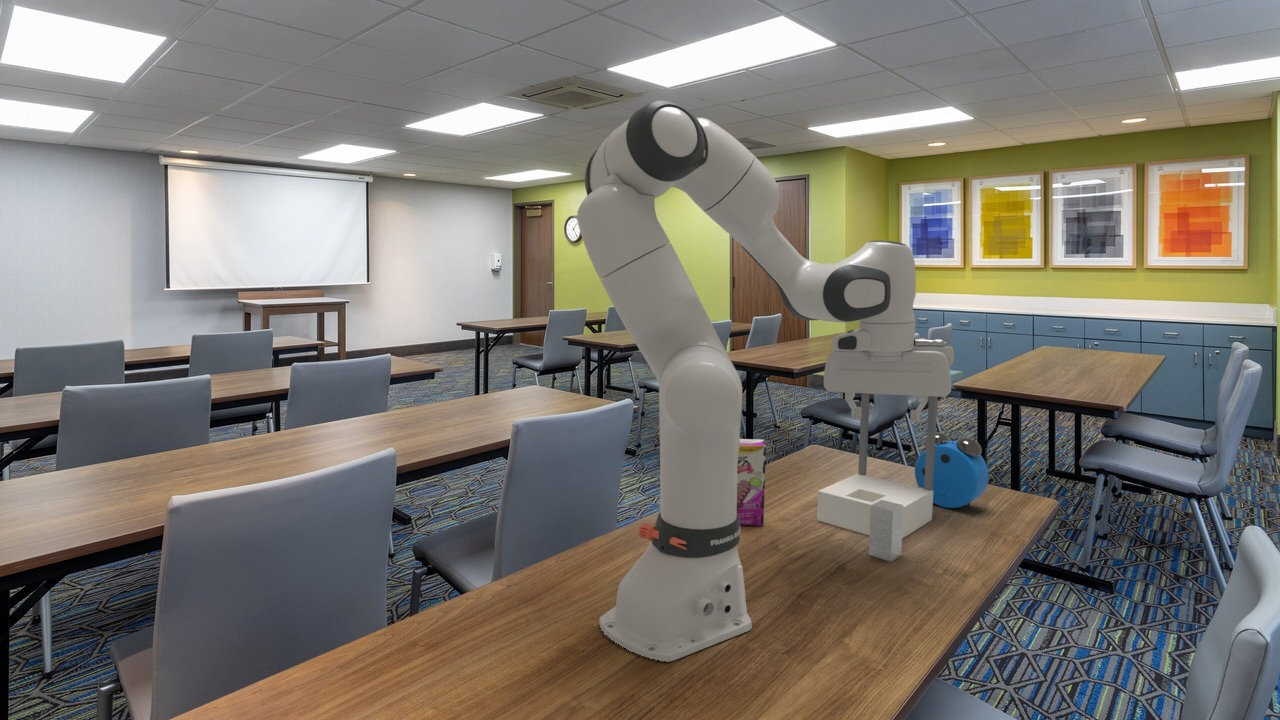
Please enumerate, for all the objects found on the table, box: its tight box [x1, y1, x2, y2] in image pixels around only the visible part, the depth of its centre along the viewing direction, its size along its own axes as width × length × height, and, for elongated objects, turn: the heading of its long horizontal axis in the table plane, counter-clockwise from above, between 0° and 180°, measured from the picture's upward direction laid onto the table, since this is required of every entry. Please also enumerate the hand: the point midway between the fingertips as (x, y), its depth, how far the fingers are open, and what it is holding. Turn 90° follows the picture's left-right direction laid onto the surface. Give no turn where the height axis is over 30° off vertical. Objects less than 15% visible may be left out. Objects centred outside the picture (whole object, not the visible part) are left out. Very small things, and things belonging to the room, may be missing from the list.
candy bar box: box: [737, 438, 767, 527], centre depth 134 cm, size 11×5×16 cm, turn 84°
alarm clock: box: [914, 431, 990, 509], centre depth 142 cm, size 13×6×15 cm, turn 41°
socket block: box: [816, 369, 964, 539], centre depth 135 cm, size 22×20×29 cm
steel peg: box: [868, 500, 904, 563], centre depth 118 cm, size 4×4×9 cm
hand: (885, 419), depth 116 cm, fingers open, 8 cm apart
